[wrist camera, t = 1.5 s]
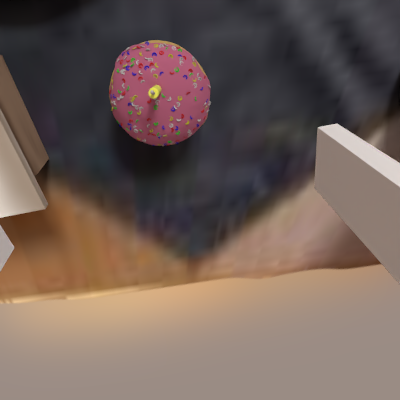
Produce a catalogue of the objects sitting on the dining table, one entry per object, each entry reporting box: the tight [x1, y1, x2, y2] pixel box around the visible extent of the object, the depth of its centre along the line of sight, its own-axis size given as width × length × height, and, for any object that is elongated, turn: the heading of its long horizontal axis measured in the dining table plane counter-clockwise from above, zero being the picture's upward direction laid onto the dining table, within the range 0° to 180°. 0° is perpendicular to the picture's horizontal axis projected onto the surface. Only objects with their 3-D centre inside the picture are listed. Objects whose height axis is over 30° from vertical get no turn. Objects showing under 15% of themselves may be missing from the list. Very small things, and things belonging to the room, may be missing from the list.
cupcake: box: [109, 40, 211, 146], centre depth 25 cm, size 9×8×12 cm
